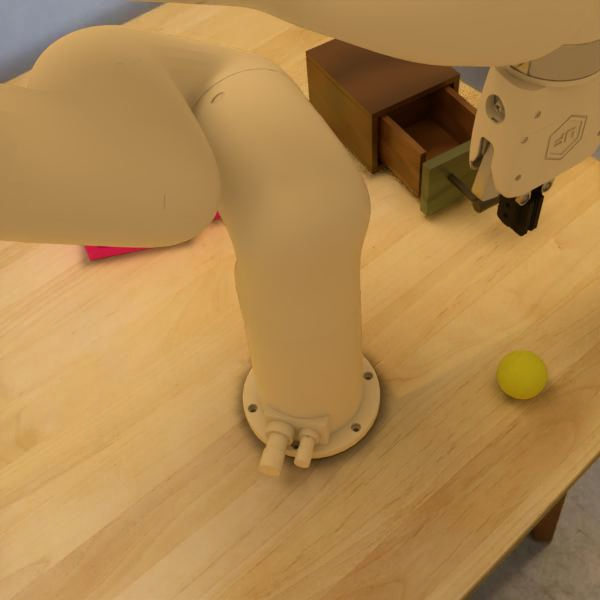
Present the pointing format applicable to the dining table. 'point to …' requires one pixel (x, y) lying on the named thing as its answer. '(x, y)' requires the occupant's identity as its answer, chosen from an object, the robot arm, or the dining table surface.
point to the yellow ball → (522, 374)
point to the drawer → (432, 149)
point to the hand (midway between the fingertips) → (516, 222)
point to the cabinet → (366, 91)
